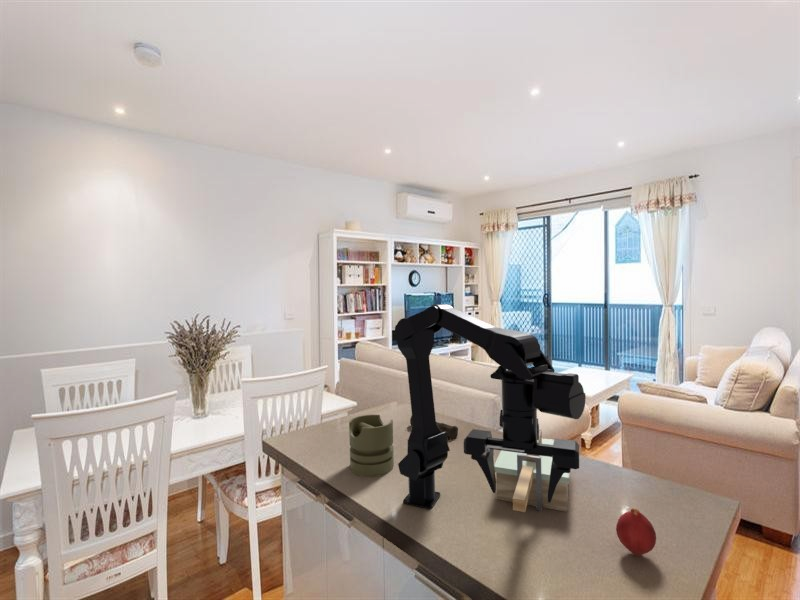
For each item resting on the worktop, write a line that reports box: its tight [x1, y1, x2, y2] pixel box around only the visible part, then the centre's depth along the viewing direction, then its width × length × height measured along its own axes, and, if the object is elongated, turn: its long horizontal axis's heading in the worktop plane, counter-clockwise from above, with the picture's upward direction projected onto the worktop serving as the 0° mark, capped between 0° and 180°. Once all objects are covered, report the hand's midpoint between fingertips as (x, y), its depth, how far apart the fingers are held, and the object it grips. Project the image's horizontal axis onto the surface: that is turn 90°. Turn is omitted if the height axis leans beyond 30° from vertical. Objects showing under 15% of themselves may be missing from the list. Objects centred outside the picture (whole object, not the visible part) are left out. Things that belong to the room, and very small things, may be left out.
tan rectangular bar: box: [512, 466, 533, 513], centre depth 75 cm, size 14×2×2 cm, turn 156°
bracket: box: [517, 454, 543, 512], centre depth 83 cm, size 1×5×11 cm, turn 66°
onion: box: [615, 507, 657, 557], centre depth 68 cm, size 6×6×8 cm
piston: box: [348, 414, 395, 478], centre depth 105 cm, size 11×12×11 cm
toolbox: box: [495, 472, 569, 513], centre depth 93 cm, size 20×14×6 cm
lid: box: [494, 429, 570, 485], centre depth 93 cm, size 21×15×6 cm
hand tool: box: [409, 415, 459, 441], centre depth 131 cm, size 19×4×5 cm, turn 42°
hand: (521, 496), depth 70 cm, fingers open, 9 cm apart
